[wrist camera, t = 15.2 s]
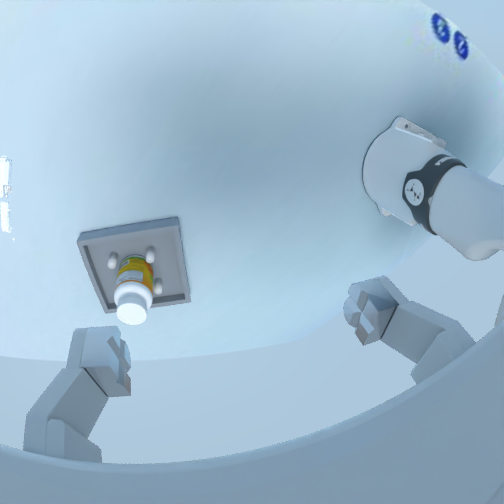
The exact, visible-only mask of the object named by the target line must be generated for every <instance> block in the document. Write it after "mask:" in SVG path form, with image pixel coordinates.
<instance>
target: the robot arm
mask: <svg viewBox="0 0 504 504" xmlns="http://www.w3.org/2000/svg"><path fill="white" fill-rule="evenodd" d="M446 143H447V142H446V141H445V140H443V139H441V138H439V137H436V136H435V135H433V134H431V133H430V132H428V131H426V130H425V129H423V128H421V127H419V126H417V125H416V124H414V123H412V122H410V121H408V120H406V119H405V118H402V117H397V118H396V119H395V120H394V122H393V123H392V125H391V127H390V128H389V129H388V130H386V131H385V132H383V133H382V134H381V135H379V136H378V137H377V138H376V139H375V141H374V142H373V143H372V145H371V146H370V148H369V150H368V152H367V155H366V158H365V161H364V166H363V182H364V186H365V189H366V192H367V193H368V195H369V196H370V198H371V199H372V200H374V201H375V202H376V203H377V205H378V209H379V211H380V213H381V214H382V215H384V216H389V215H394V216H396V217H397V218H399V219H401V220H402V221H404V222H405V223H407V224H409V225H411V226H414V225H417V224H419V225H421V227H422V228H423V229H425V230H426V231H429V232H430V233H432V234H433V235H439V236H440V237H441V238H442V239H444V240H445V241H446V242H447V243H449V244H450V245H451V246H452V247H453V248H455V249H456V250H457V251H458V252H460V253H461V254H462V255H463V256H464V257H465V258H467V259H469V260H473V261H479V260H484V259H487V258H489V257H491V256H492V255H493V254H495V253H496V252H498V251H499V250H503V251H504V186H503V185H501V184H498V183H496V182H494V181H492V180H490V179H488V178H486V177H484V176H481V175H480V174H478V173H475V172H473V171H472V170H470V169H468V168H467V167H466V166H465V165H464V164H463V163H462V162H460V161H459V160H458V159H456V158H455V156H454V155H452V154H451V153H449V152H447V151H446V150H445V146H446ZM348 294H349V295H350V296H349V297H348V298H347V300H346V301H345V303H344V307H343V310H344V316H345V318H346V321H347V322H348V324H349V325H351V326H353V327H355V334H356V335H357V337H358V338H359V340H360V341H361V343H362V344H363V346H364V345H366V344H369V343H372V342H375V341H378V340H381V341H382V342H384V343H385V344H387V345H388V346H390V347H391V348H393V349H395V350H396V351H398V352H399V353H401V354H402V355H404V356H405V357H407V358H409V359H410V360H412V361H413V362H415V363H416V364H417V365H416V366H415V367H414V368H413V370H412V371H411V376H412V378H413V379H414V381H415V382H416V384H417V385H415V386H413V387H412V388H410V389H408V390H406V391H404V392H403V393H401V394H399V395H397V396H395V397H394V398H392V399H390V400H388V401H386V402H384V403H382V404H380V405H378V406H376V407H374V408H372V409H370V410H368V411H366V412H363V413H361V414H359V415H357V416H355V417H352V418H350V419H348V420H345V421H343V422H341V423H338V424H335V425H333V426H330V427H328V428H325V429H322V430H320V431H317V432H314V433H311V434H308V435H305V436H302V437H299V438H296V439H293V440H290V441H286V442H283V443H279V444H276V445H272V446H268V447H264V448H261V449H256V450H252V451H247V452H243V453H238V454H232V455H227V456H222V457H215V458H209V459H201V460H193V461H184V462H172V463H156V464H112V463H102V457H101V449H100V448H99V447H98V446H97V445H95V444H94V443H92V442H91V441H89V440H88V437H89V434H90V433H91V431H92V428H93V427H94V425H95V423H96V421H97V419H98V417H99V415H100V414H101V412H102V410H103V408H104V406H105V404H106V402H107V401H108V397H119V396H130V395H131V379H130V377H129V376H128V374H127V372H128V371H129V369H130V368H131V360H130V353H129V350H128V346H127V344H126V342H125V341H123V340H122V339H120V336H121V332H120V331H119V329H118V327H117V326H105V327H90V328H78V329H75V331H74V332H73V336H72V341H71V345H70V350H69V355H68V360H67V366H66V369H62V370H61V371H60V372H59V374H58V375H57V376H56V377H55V379H54V380H53V381H52V382H51V384H50V385H49V386H48V387H47V389H46V390H45V391H44V392H43V394H42V395H41V396H40V398H39V399H38V400H37V401H36V403H35V404H34V406H33V407H32V408H31V409H30V411H29V412H28V414H27V416H26V424H25V433H24V446H23V447H24V448H23V450H19V449H16V448H12V447H9V446H5V445H2V444H0V504H504V295H503V298H502V301H501V304H500V307H499V311H498V314H497V318H496V321H495V327H494V328H493V329H492V330H491V331H490V332H489V333H487V334H486V335H485V336H484V337H483V338H482V339H480V340H479V341H478V342H477V343H476V342H475V341H474V340H473V338H472V337H471V336H470V335H469V334H468V332H467V331H466V330H465V329H464V328H463V327H462V325H461V324H460V323H459V322H458V321H456V320H454V319H452V318H449V317H447V316H445V315H443V314H440V313H438V312H436V311H434V310H432V309H429V308H427V307H425V306H423V305H421V304H419V303H416V302H414V301H409V300H408V299H407V298H406V297H405V296H404V295H403V294H402V293H401V292H400V290H399V289H398V288H397V287H396V286H395V285H394V284H393V283H392V282H391V281H390V280H389V279H388V278H387V277H386V276H381V277H377V278H373V279H369V280H365V281H362V282H358V283H354V284H352V285H351V286H350V287H349V290H348Z"/></svg>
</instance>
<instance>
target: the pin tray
mask: <svg viewBox="0 0 504 504" xmlns="http://www.w3.org/2000/svg"><path fill="white" fill-rule="evenodd" d="M77 245H78V248H79V250H80V253H81V256H82V259H83V261H84V264H85V267H86V269H87V272H88V274H89V277H90V279H91V282H92V284H93V287H94V289H95V291H96V294H97V296H98V298H99V300H100V303H101V305H102V307H103V309H104V311H105V313H114V312H117V305H116V304H115V301H114V291H115V286H116V281H117V276H118V271H119V267H120V264H121V262H122V261H123V260H124V259H125V258H126V257H128V256H132V255H139V256H143V257H145V258H146V262H147V263H151V264H152V266H153V299H152V305H151V307H150V308H154V307H161V306H168V305H175V304H182V303H189V302H191V298H190V291H189V286H188V280H187V274H186V269H185V263H184V257H183V250H182V244H181V237H180V231H179V224H178V217H175V218H168V219H161V220H155V221H148V222H142V223H135V224H129V225H123V226H117V227H111V228H106V229H100V230H95V231H89V232H84V233H81V234H80V236H79V238H78V240H77Z"/></svg>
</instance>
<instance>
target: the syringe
mask: <svg viewBox="0 0 504 504" xmlns="http://www.w3.org/2000/svg"><path fill="white" fill-rule="evenodd" d="M11 166H12V160H7V156H1V157H0V197H4V185H9V184H10V183H11ZM7 191H8V193H11V186H5V194H7ZM5 198H7V195H5ZM9 211H10V209H9V205H8V202H5V201H1V221H2V222H1V223H2V231H5V232H9V233H11V227H10V229H9ZM13 241H14V237H13Z"/></svg>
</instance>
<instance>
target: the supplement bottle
mask: <svg viewBox="0 0 504 504" xmlns="http://www.w3.org/2000/svg"><path fill="white" fill-rule="evenodd" d="M152 299H153V266H152V264H151V263H147V262H146V258H145V257H143V256H139V255H132V256H128V257H126V258H125V259H124V260H123V261H122V262H121V264H120V267H119V271H118V276H117V281H116V286H115V291H114V301H115V304H116V305H117V316H118V318H119V319H120V320H121V321H122V322H124V323H126V324H129V325H138V324H141V323H143V322H144V321H145V320H146V317H147V310H148V309H149V308H150V307H151V305H152Z"/></svg>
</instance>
